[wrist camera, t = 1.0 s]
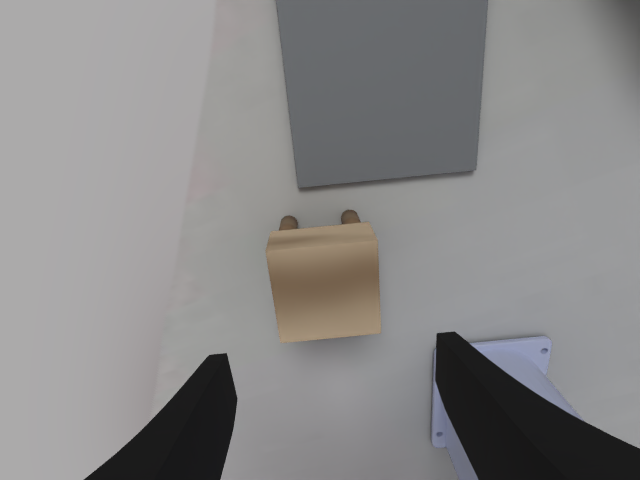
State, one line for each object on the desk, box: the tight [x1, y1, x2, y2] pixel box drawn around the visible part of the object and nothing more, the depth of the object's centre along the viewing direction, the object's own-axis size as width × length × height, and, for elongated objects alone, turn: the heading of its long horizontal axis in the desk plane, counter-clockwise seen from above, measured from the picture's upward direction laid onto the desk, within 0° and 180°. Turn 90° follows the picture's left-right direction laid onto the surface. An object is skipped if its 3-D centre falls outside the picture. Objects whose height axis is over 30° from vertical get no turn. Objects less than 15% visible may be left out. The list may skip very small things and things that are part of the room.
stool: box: [266, 210, 381, 343], centre depth 19 cm, size 5×5×6 cm
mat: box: [276, 0, 488, 188], centre depth 18 cm, size 10×10×1 cm
